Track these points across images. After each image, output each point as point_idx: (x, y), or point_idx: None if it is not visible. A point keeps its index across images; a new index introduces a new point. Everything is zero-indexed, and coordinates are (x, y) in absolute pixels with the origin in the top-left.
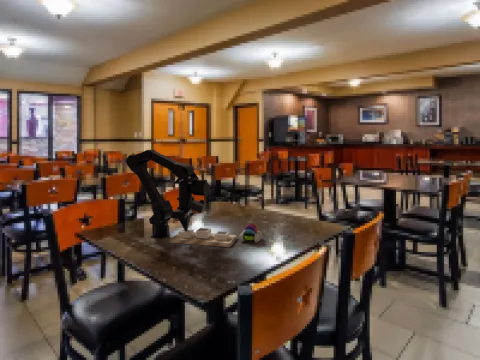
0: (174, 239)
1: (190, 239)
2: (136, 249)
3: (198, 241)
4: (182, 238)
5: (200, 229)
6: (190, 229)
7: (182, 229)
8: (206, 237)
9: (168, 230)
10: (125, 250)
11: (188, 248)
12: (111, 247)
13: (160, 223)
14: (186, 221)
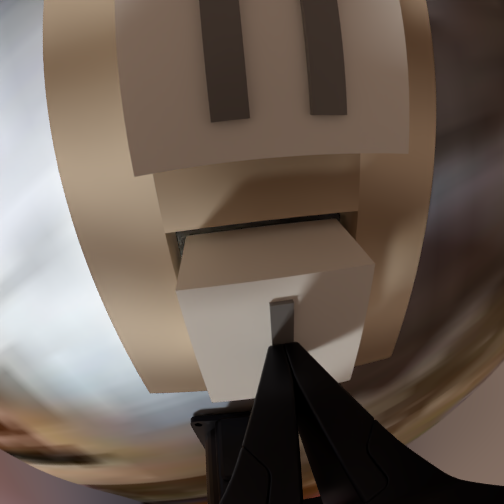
0: (401, 325)
1: (402, 187)
2: (460, 375)
3: (433, 74)
4: (375, 284)
5: (277, 98)
6: (201, 329)
7: (243, 395)
8: None
9: (236, 443)
10: (460, 390)
11: (490, 142)
12: (421, 429)
13: (314, 501)
14: (407, 459)
